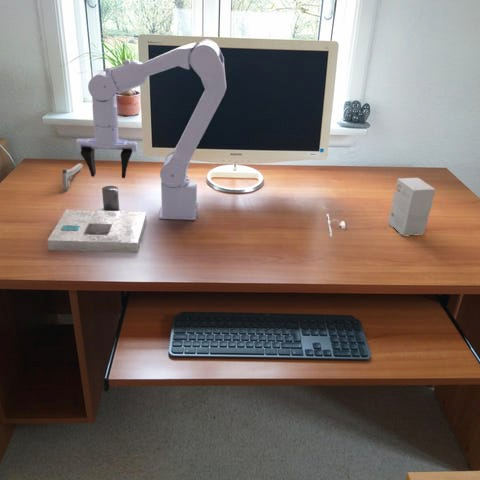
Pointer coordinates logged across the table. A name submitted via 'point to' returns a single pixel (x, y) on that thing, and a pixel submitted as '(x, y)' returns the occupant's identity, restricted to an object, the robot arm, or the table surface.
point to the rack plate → (98, 231)
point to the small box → (411, 206)
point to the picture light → (339, 224)
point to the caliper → (69, 175)
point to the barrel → (110, 198)
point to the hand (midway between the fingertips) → (108, 176)
